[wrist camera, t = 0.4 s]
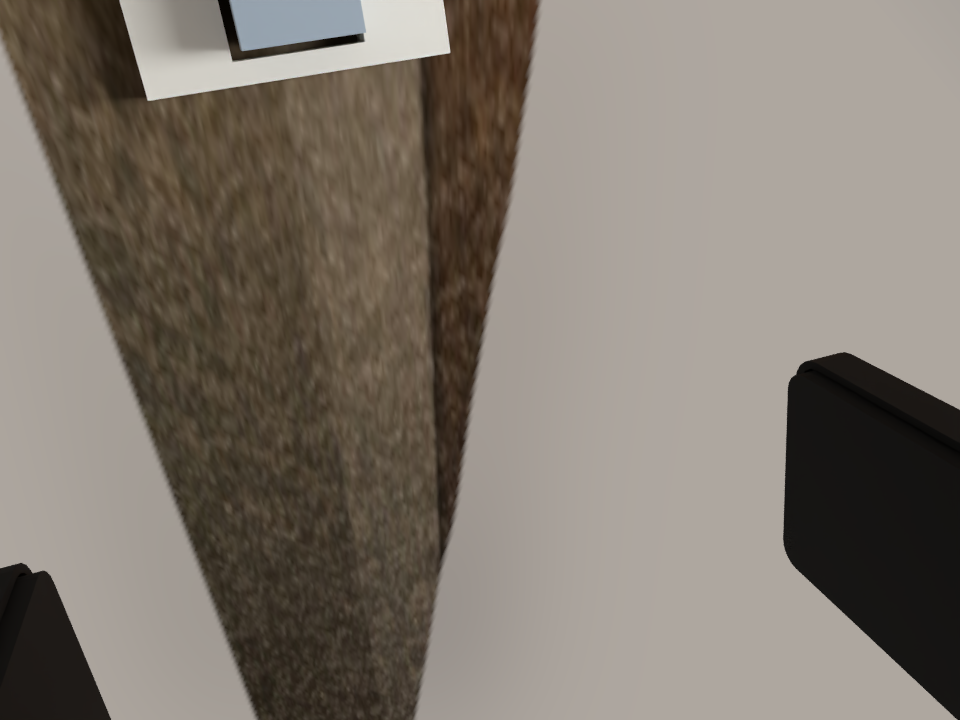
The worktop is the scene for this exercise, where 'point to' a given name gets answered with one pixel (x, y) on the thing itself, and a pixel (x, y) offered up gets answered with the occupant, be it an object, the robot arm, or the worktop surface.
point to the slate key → (294, 21)
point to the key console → (208, 64)
